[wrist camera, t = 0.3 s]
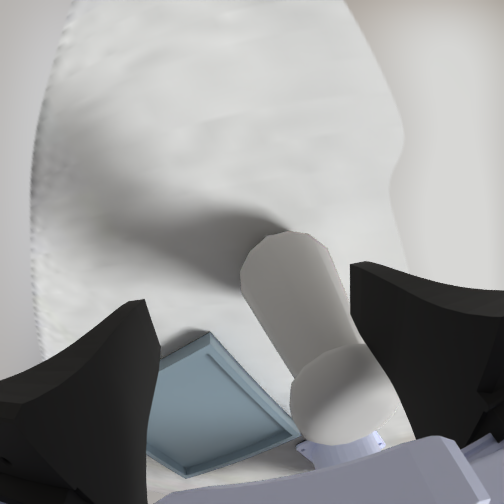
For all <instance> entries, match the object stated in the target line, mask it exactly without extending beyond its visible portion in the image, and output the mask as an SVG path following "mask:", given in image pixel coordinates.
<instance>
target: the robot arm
mask: <svg viewBox="0 0 504 504" xmlns="http://www.w3.org/2000/svg"><path fill="white" fill-rule="evenodd" d="M350 315H351V317H352V319H353V322H354V324H355V326H356V328H357V330H358V332H359V334H360V336H361V337H362V339H363V340H364V342H365V343H366V345H367V346H368V348H369V349H370V351H371V352H372V354H373V355H374V357H375V358H376V360H377V361H378V363H379V364H380V366H381V367H382V369H383V370H384V372H385V373H386V375H387V376H388V378H389V380H390V381H391V383H392V385H393V387H394V389H395V391H396V393H397V395H398V397H399V399H400V401H401V403H402V406H403V408H404V410H405V412H406V415H407V417H408V420H409V422H410V424H411V427H412V430H413V432H414V435H415V438H416V440H414V441H410V442H406V443H402V444H399V445H396V446H393V447H391V448H388V449H385V450H382V451H381V449H382V448H384V447H385V445H386V444H385V443H384V441H383V440H382V438H381V437H380V435H379V434H378V432H377V431H374V432H373V433H371V434H369V435H368V436H366V437H363V438H361V439H358V440H356V441H353V442H351V443H347V444H340V445H333V446H330V445H324V444H319V443H315V442H312V441H308V440H306V441H304V442H302V443H300V444H298V445H297V446H296V450H297V451H299V452H300V453H301V454H302V455H303V456H305V457H306V458H307V459H308V460H310V461H311V462H312V463H313V464H314V467H315V470H313V471H309V472H305V473H300V474H295V475H290V476H285V477H279V478H274V479H268V480H261V481H254V482H247V483H238V484H229V485H218V486H207V487H202V488H196V489H190V490H184V491H177V492H172V493H170V494H169V495H167V496H165V497H164V498H162V499H160V500H159V501H157V502H156V503H154V504H504V291H500V290H482V289H471V288H465V287H458V286H453V285H447V284H443V283H438V282H435V281H431V280H427V279H424V278H420V277H417V276H414V275H411V274H407V273H404V272H401V271H398V270H395V269H392V268H389V267H386V266H383V265H380V264H376V263H372V262H367V261H364V262H359V263H354V264H350ZM160 348H161V346H160V344H159V341H158V338H157V335H156V332H155V329H154V326H153V323H152V320H151V317H150V314H149V311H148V308H147V305H146V302H145V299H142V300H135V301H129V302H127V303H125V304H123V305H122V306H121V307H119V308H118V309H117V310H115V311H114V312H113V313H112V314H110V315H109V316H108V317H107V318H105V319H104V320H103V321H102V322H100V323H99V324H98V325H97V326H96V327H94V328H93V329H92V330H90V331H89V332H88V333H86V334H85V335H84V336H82V337H81V338H80V339H79V340H77V341H76V342H75V343H73V344H72V345H70V346H69V347H67V348H66V349H64V350H63V351H61V352H59V353H58V354H56V355H55V356H53V357H51V358H50V359H48V360H46V361H44V362H42V363H40V364H38V365H36V366H34V367H32V368H30V369H28V370H26V371H24V372H21V373H19V374H17V375H14V376H12V377H9V378H6V379H3V380H1V381H0V504H148V503H147V486H146V445H147V429H148V421H149V416H150V411H151V406H152V401H153V396H154V392H155V387H156V382H157V378H158V373H159V364H160Z"/></svg>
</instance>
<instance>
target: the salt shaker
mask: <svg viewBox="0 0 504 504" xmlns="http://www.w3.org/2000/svg"><path fill="white" fill-rule="evenodd" d="M240 281H241V293H242V295H243V297H244V298H245V300H246V301H247V303H248V305H249V306H250V308H251V310H252V311H253V313H254V314H255V316H256V318H257V319H258V321H259V323H260V324H261V326H262V328H263V329H264V331H265V332H266V334H267V336H268V337H269V339H270V340H271V342H272V344H273V345H274V347H275V348H276V350H277V352H278V353H279V355H280V356H281V358H282V360H283V361H284V363H285V364H286V366H287V368H288V369H289V371H290V372H291V374H292V376H293V377H294V381H293V382H292V384H291V392H290V410H291V415H292V419H293V421H294V423H295V424H296V426H297V428H298V430H299V431H300V432H301V434H302V435H303V436H304V437H305V438H306V439H307V440H308V441H312V442H315V443H319V444H324V445H330V446H333V445H340V444H347V443H351V442H353V441H356V440H358V439H361V438H363V437H366V436H368V435H369V434H371V433H373V432H374V431H376V430H377V429H379V428H380V427H382V426H383V425H384V424H385V423H386V422H387V421H388V420H389V419H390V418H391V417H392V416H393V415H394V414H395V412H396V410H397V408H398V406H399V404H400V402H401V401H400V399H399V397H398V395H397V393H396V391H395V389H394V387H393V385H392V383H391V381H390V380H389V378H388V376H387V375H386V373H385V372H384V370H383V369H382V367H381V366H380V364H379V363H378V361H377V360H376V358H375V357H374V355H373V354H372V352H371V351H370V349H369V348H368V346H367V345H366V344H365V342H364V340H363V339H362V337H361V336H360V334H359V332H358V330H357V328H356V326H355V324H354V322H353V319H352V317H351V315H350V302H349V299H348V297H347V294H346V291H345V289H344V287H343V284H342V282H341V279H340V277H339V274H338V272H337V269H336V267H335V265H334V262H333V260H332V258H331V255H330V253H329V251H328V248H327V247H325V246H324V245H323V244H322V243H320V242H319V241H317V240H316V239H315V238H313V237H312V236H311V235H309V234H306V233H299V232H292V231H286V232H282V233H279V234H275V235H266V237H265V238H264V239H263V240H262V241H261V242H260V243H259V244H258V245H256V246H255V247H254V248H253V249H252V250H251V251H250V252H249V254H248V256H247V258H246V260H245V262H244V264H243V266H242V268H241V270H240Z"/></svg>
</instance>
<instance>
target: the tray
mask: <svg viewBox="0 0 504 504" xmlns="http://www.w3.org/2000/svg"><path fill="white" fill-rule="evenodd" d="M299 436H301V434H300V431H299V430H298V428H297V426H296V424H295V423H294V421H293V419H292V418H291V417H290V416H289V415H288V414H287V413H286V412H285V411H284V410H283V409H282V408H281V407H280V406H279V405H278V404H277V403H276V402H275V401H274V400H273V399H272V398H271V397H270V396H269V395H268V394H267V393H266V392H265V391H264V390H263V389H262V388H261V387H260V386H259V384H258V383H257V382H256V381H255V380H254V379H253V378H252V377H251V376H250V375H249V374H248V373H247V372H246V371H245V370H244V369H243V367H242V366H241V365H240V364H239V363H238V362H237V361H236V360H235V359H234V358H233V357H232V355H231V354H230V353H229V352H228V351H227V350H226V349H225V348H224V347H223V345H222V344H221V343H220V342H219V341H218V340H217V339H216V338H215V336H214V335H213V334H212V333H211V332H209V333H208V334H206V335H204V336H202V337H201V338H199V339H197V340H195V341H193V342H192V343H190V344H188V345H186V346H185V347H183V348H181V349H179V350H177V351H176V352H174V353H172V354H170V355H168V356H167V357H165V358H163V359H161V360H160V364H159V373H158V378H157V382H156V387H155V392H154V396H153V401H152V406H151V411H150V416H149V421H148V429H147V445H146V454H147V455H148V456H150V457H151V458H153V459H154V460H156V461H157V462H159V463H160V464H162V465H164V466H165V467H167V468H168V469H170V470H172V471H173V472H175V473H177V474H178V475H180V476H182V477H183V478H185V479H187V478H190V477H194V476H197V475H200V474H204V473H207V472H210V471H213V470H216V469H219V468H222V467H225V466H228V465H231V464H234V463H236V462H239V461H242V460H244V459H247V458H250V457H252V456H255V455H257V454H260V453H262V452H265V451H267V450H270V449H272V448H275V447H277V446H279V445H282V444H284V443H286V442H288V441H291V440H293V439H295V438H297V437H299Z"/></svg>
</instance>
